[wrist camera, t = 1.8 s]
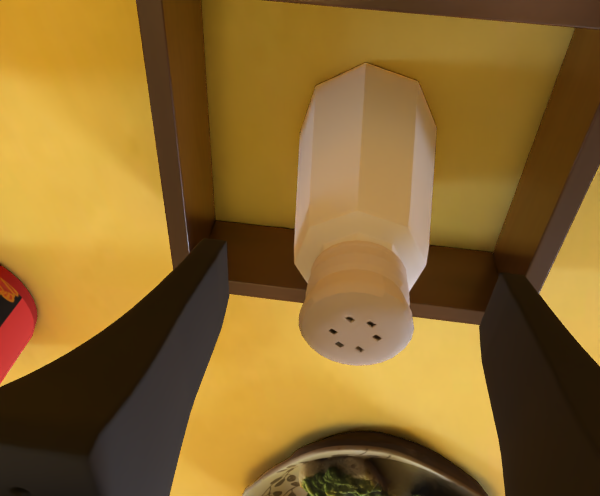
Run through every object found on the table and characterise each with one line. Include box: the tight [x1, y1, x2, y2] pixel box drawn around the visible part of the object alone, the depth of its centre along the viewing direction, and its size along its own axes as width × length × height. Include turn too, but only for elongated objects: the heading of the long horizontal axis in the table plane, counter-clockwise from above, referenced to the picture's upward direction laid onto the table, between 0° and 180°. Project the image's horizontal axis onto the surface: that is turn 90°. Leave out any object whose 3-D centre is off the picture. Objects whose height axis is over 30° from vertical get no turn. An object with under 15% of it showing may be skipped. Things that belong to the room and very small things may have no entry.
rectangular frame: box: [136, 0, 600, 325], centre depth 20 cm, size 15×13×4 cm
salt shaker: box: [294, 63, 437, 365], centre depth 17 cm, size 5×5×11 cm
